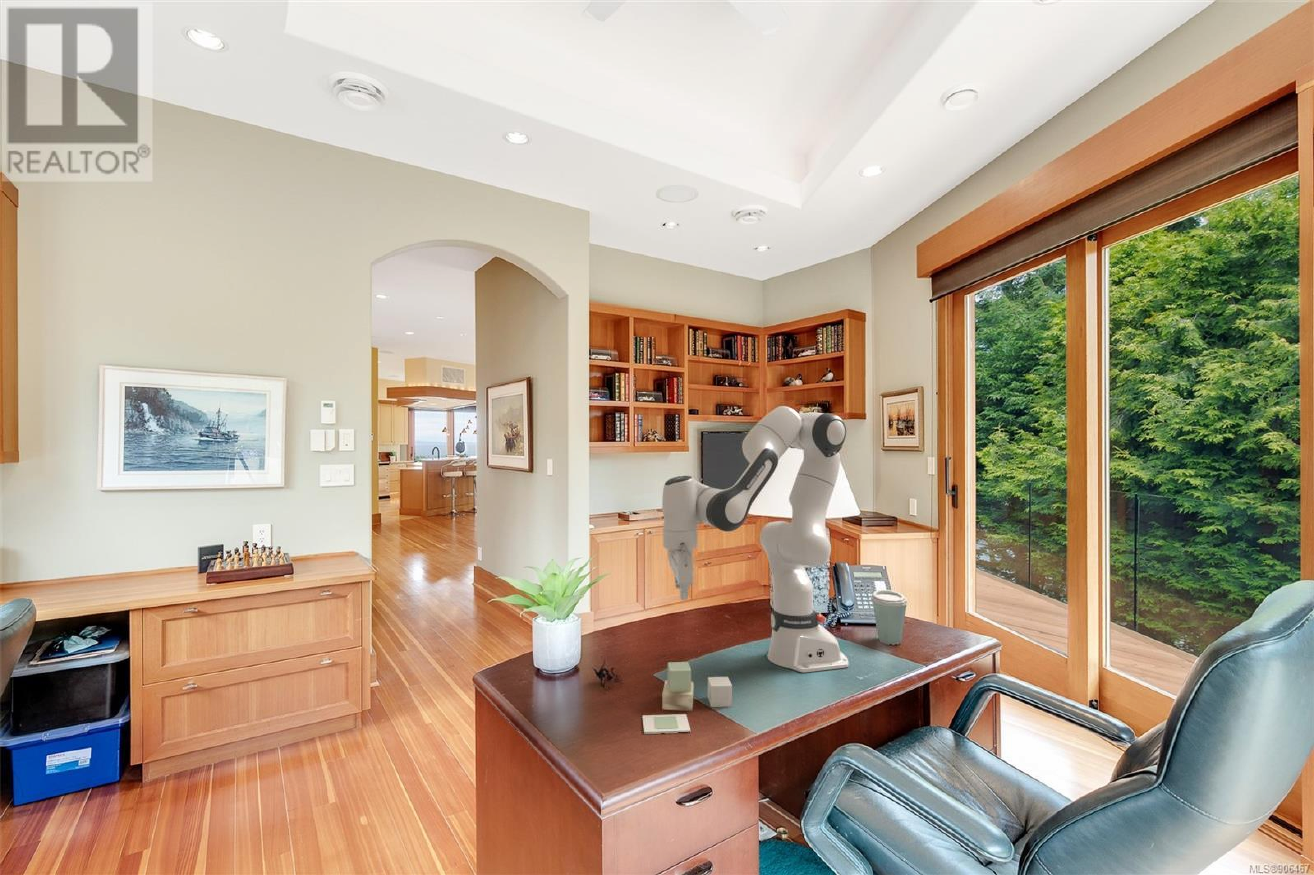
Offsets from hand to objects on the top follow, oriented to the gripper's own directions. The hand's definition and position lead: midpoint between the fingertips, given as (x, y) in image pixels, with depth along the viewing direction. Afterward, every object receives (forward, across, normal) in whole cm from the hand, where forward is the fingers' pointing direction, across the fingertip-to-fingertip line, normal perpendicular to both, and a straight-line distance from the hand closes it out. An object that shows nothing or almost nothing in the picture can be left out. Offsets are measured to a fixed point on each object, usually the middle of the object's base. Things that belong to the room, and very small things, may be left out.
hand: (681, 593), depth 142 cm
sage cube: (+20, -9, +2) cm, 22 cm away
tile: (+23, -19, +7) cm, 31 cm away
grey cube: (+24, -10, -7) cm, 27 cm away
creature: (+23, +2, +19) cm, 30 cm away
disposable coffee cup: (+26, +25, -69) cm, 78 cm away
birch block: (+24, -9, +3) cm, 26 cm away
